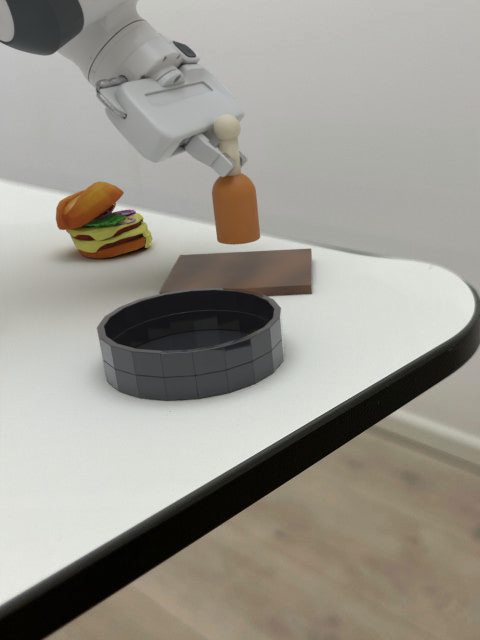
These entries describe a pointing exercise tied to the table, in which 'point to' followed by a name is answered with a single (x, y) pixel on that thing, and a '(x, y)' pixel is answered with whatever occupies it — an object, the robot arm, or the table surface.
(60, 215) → the cheeseburger
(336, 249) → the table surface
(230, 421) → the table surface
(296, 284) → the board
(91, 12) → the robot arm
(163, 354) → the pan
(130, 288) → the table surface
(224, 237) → the drumstick
